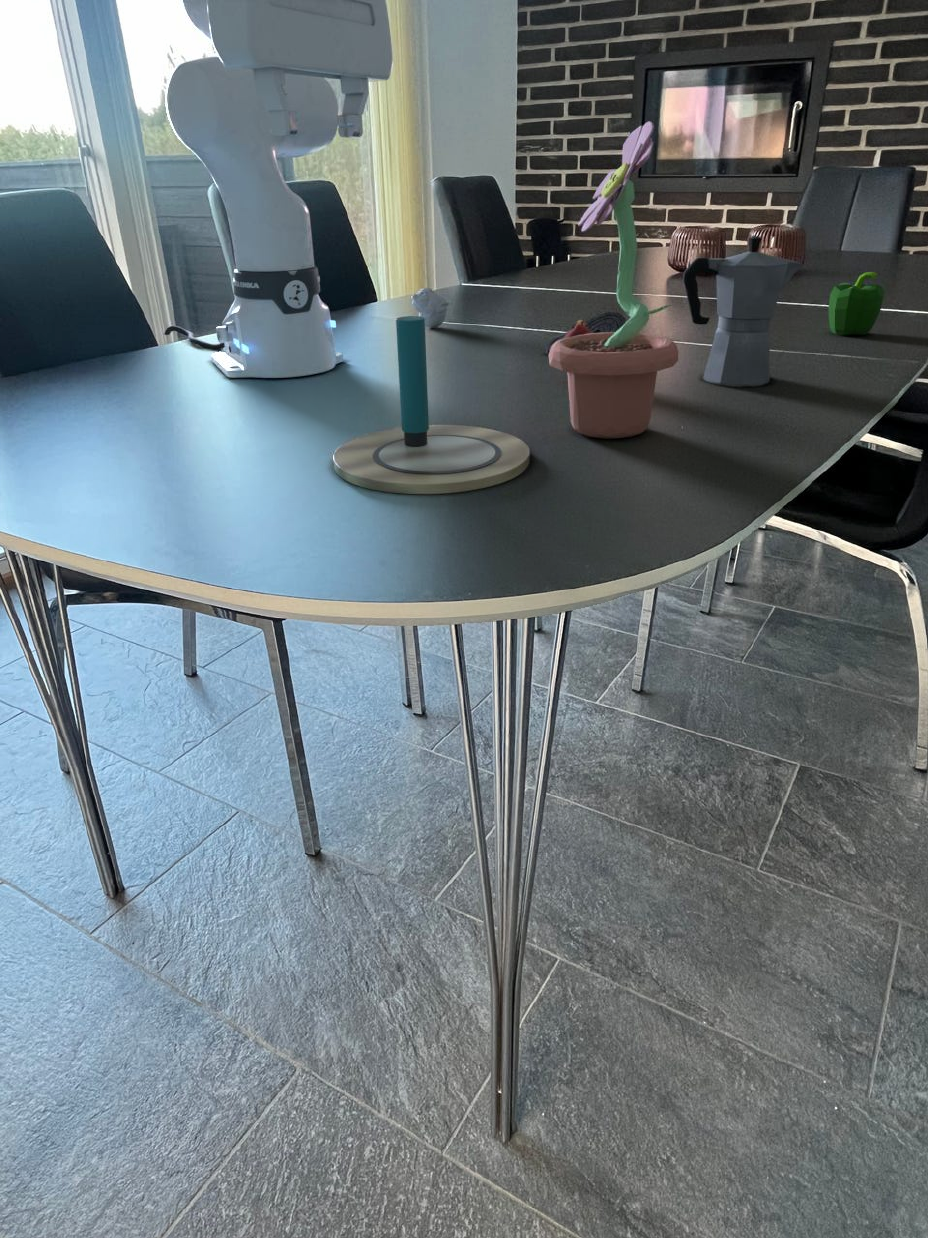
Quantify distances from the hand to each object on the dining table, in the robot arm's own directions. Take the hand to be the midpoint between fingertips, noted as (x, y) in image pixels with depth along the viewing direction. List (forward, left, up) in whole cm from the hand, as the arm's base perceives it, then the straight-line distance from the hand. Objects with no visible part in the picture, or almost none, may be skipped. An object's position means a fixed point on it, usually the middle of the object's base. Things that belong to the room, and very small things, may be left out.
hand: (319, 136), depth 74 cm
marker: (+4, +6, -28) cm, 29 cm away
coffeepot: (+3, +58, -29) cm, 65 cm away
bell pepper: (-6, +101, -29) cm, 105 cm away
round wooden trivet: (+7, +6, -29) cm, 31 cm away
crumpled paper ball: (-60, +51, -29) cm, 84 cm away
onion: (-10, +42, -29) cm, 52 cm away
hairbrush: (-30, +62, -29) cm, 75 cm away
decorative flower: (+10, +28, -29) cm, 42 cm away
